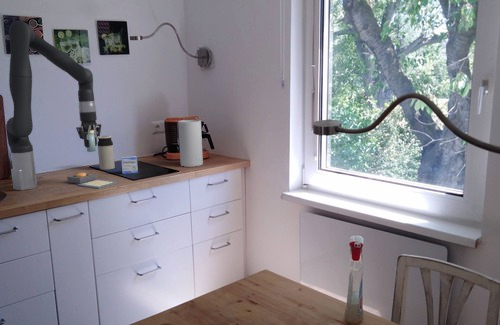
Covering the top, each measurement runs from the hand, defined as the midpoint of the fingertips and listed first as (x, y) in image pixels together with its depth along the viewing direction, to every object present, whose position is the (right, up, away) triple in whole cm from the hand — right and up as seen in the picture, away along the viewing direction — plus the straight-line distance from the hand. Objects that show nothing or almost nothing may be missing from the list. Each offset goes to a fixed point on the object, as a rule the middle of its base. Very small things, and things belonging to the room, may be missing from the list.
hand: (91, 146), depth 221 cm
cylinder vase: (+44, -9, +38) cm, 59 cm away
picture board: (+4, -18, -3) cm, 19 cm away
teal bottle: (0, -2, 0) cm, 2 cm away
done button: (-6, -15, +4) cm, 17 cm away
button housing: (-6, -17, +4) cm, 19 cm away
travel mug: (-3, -11, +34) cm, 36 cm away
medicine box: (+13, -13, +22) cm, 29 cm away
